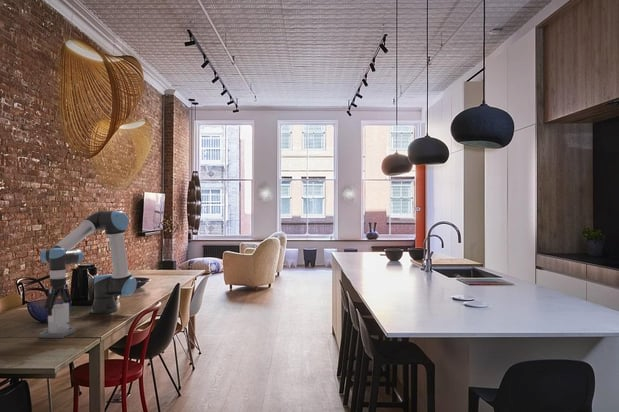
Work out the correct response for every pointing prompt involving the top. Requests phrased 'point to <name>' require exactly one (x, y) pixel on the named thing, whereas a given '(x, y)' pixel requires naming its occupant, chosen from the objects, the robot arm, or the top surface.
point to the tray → (57, 335)
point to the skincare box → (59, 319)
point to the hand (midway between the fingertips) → (58, 318)
